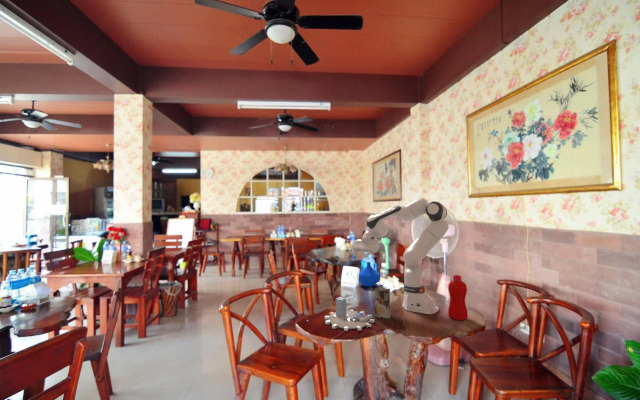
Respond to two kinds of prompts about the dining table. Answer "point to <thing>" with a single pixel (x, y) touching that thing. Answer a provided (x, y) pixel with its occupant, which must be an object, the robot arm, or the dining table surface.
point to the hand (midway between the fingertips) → (360, 255)
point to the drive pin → (341, 307)
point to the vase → (369, 276)
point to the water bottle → (457, 299)
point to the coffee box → (382, 302)
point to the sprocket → (349, 320)
